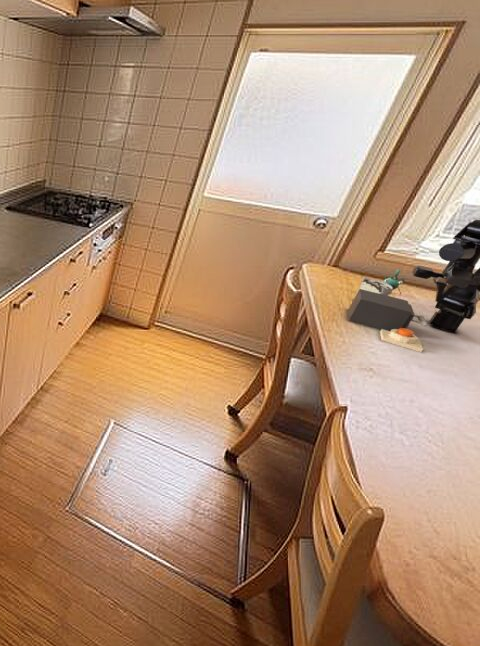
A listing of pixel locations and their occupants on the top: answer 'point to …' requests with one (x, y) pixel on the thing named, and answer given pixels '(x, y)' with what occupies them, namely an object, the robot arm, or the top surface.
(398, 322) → the charcoal rectangular box
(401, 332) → the button
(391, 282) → the frog figurine
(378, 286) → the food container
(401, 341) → the block
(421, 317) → the fryer drawer
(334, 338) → the top surface
